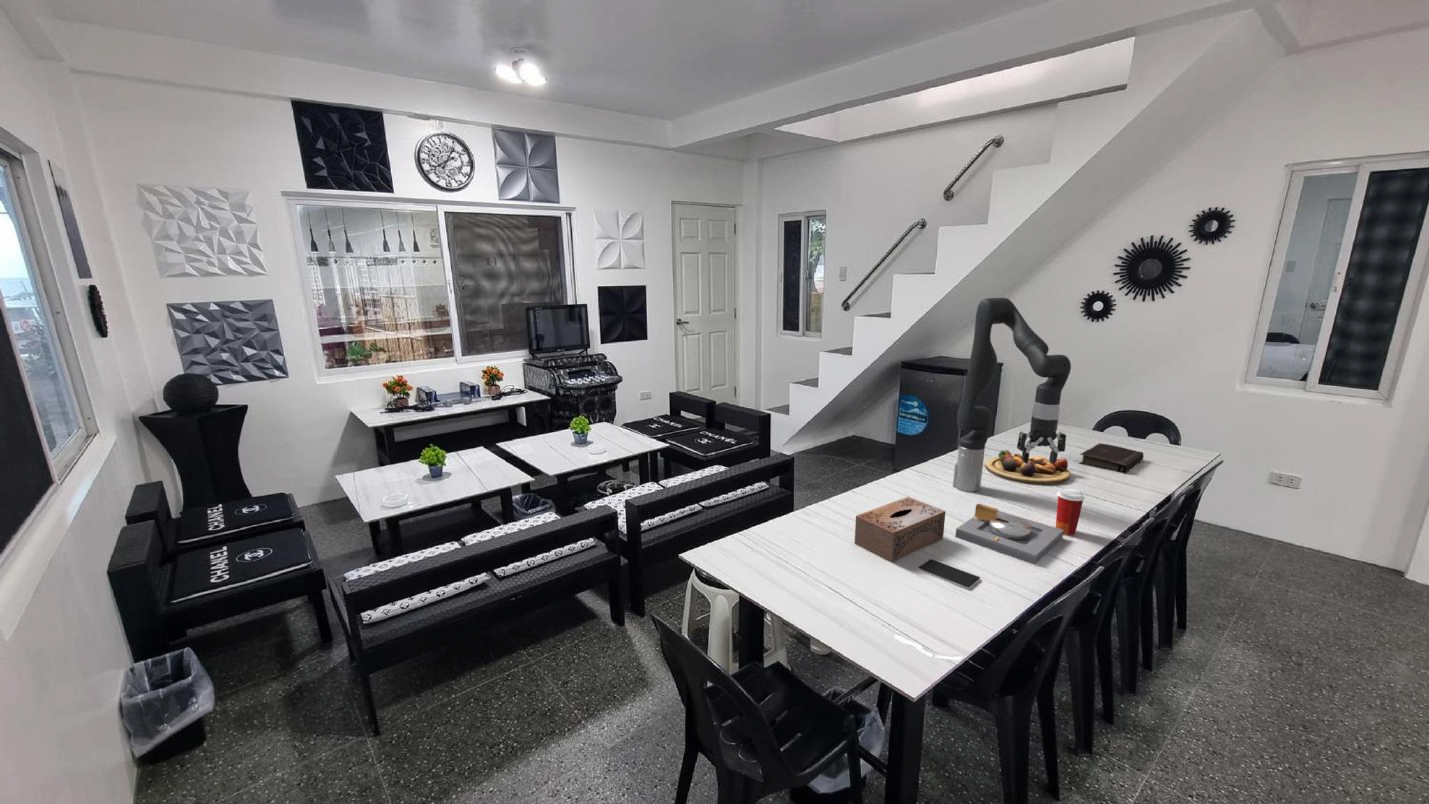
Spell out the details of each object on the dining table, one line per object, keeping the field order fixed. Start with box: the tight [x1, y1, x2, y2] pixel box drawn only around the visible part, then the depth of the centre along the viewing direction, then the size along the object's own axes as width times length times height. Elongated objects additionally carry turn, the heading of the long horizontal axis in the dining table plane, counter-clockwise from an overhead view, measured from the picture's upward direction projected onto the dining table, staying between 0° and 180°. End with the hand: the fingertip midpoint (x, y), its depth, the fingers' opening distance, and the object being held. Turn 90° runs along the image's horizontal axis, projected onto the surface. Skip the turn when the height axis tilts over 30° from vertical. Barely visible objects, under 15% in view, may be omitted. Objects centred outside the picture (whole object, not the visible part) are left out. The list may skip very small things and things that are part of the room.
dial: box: [974, 503, 1032, 540], centre depth 185 cm, size 17×12×6 cm
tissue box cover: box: [854, 496, 947, 563], centre depth 181 cm, size 26×14×10 cm, turn 124°
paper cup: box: [1055, 488, 1086, 537], centre depth 186 cm, size 8×8×14 cm
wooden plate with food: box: [984, 449, 1072, 486], centre depth 241 cm, size 32×32×8 cm
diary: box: [1078, 442, 1145, 475], centre depth 252 cm, size 19×25×5 cm
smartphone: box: [917, 558, 981, 591], centre depth 163 cm, size 8×1×15 cm
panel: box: [955, 510, 1064, 565], centre depth 184 cm, size 24×24×3 cm
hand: (1038, 462), depth 188 cm, fingers open, 8 cm apart
